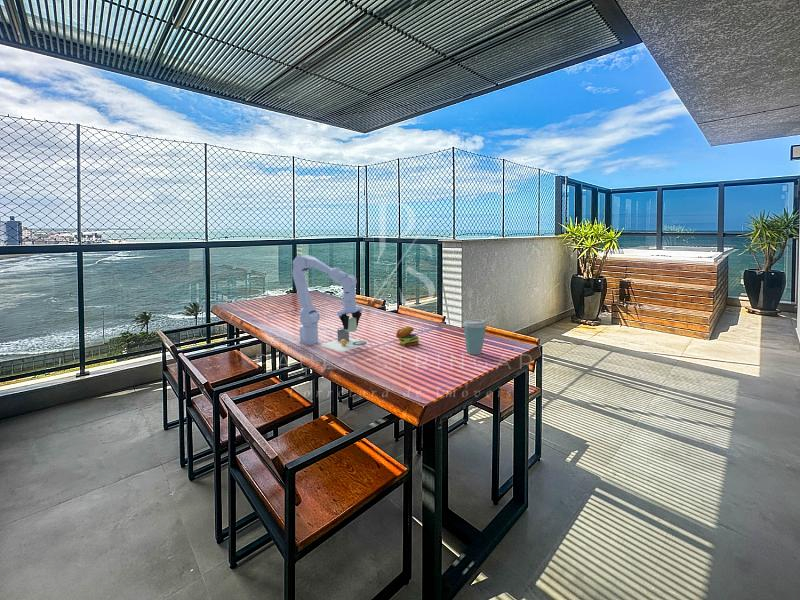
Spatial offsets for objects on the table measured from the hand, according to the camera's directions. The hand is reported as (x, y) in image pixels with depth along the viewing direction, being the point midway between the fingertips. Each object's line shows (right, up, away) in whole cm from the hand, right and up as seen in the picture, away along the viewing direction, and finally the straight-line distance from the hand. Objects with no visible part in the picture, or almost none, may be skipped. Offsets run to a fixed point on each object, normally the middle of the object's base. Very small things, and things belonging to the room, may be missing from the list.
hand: (350, 328), depth 184 cm
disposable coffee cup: (+58, -11, -12) cm, 60 cm away
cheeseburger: (+28, -8, +3) cm, 29 cm away
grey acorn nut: (-5, -7, +9) cm, 13 cm away
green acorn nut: (0, -1, 0) cm, 1 cm away
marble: (-4, -7, 0) cm, 8 cm away
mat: (-3, -9, +2) cm, 9 cm away
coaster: (+4, -8, +3) cm, 9 cm away
